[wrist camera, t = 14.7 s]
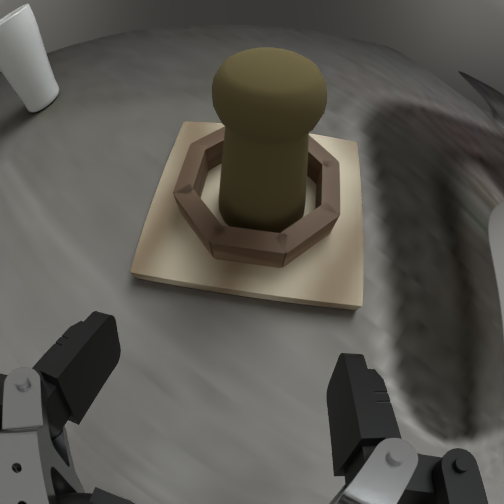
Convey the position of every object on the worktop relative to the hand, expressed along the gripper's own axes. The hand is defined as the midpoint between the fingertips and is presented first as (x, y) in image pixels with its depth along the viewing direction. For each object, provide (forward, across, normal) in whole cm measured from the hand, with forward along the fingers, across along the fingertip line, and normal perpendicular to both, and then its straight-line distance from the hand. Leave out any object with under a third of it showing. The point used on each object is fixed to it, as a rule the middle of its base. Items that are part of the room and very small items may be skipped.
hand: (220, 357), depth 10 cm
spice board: (+14, 0, -2) cm, 14 cm away
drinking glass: (+24, +31, -12) cm, 41 cm away
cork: (+13, 0, -3) cm, 13 cm away
